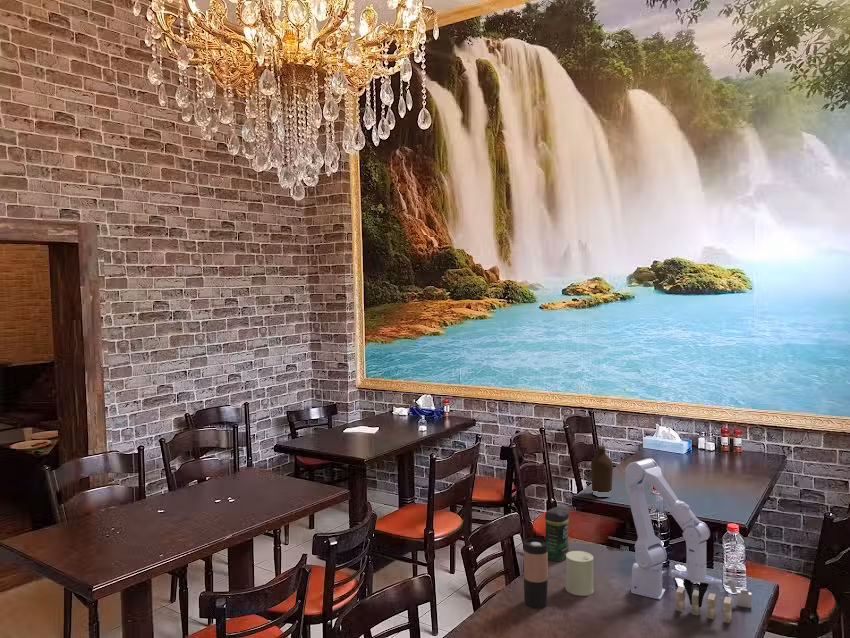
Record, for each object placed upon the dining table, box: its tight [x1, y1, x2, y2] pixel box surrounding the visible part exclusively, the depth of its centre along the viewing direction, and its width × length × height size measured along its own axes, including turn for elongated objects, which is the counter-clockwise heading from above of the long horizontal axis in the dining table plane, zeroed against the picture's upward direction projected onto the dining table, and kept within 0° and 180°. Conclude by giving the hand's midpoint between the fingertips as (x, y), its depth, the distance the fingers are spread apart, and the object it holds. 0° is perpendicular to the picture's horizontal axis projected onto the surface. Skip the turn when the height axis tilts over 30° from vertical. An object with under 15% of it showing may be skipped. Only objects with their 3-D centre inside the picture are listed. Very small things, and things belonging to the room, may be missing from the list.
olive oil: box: [590, 444, 614, 492], centre depth 316 cm, size 11×11×25 cm
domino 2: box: [691, 589, 701, 616], centre depth 199 cm, size 2×4×6 cm, turn 148°
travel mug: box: [523, 537, 549, 610], centre depth 204 cm, size 8×8×20 cm
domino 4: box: [722, 596, 733, 624], centre depth 194 cm, size 2×4×6 cm, turn 148°
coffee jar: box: [544, 506, 570, 562], centre depth 241 cm, size 10×8×19 cm
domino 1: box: [675, 585, 686, 613], centre depth 201 cm, size 2×4×6 cm, turn 148°
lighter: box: [726, 578, 752, 609], centre depth 203 cm, size 7×2×8 cm, turn 66°
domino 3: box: [706, 592, 717, 620], centre depth 196 cm, size 2×4×6 cm, turn 148°
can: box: [565, 550, 595, 597], centre depth 214 cm, size 9×9×12 cm
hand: (696, 604), depth 199 cm, fingers closed on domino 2, 2 cm apart
